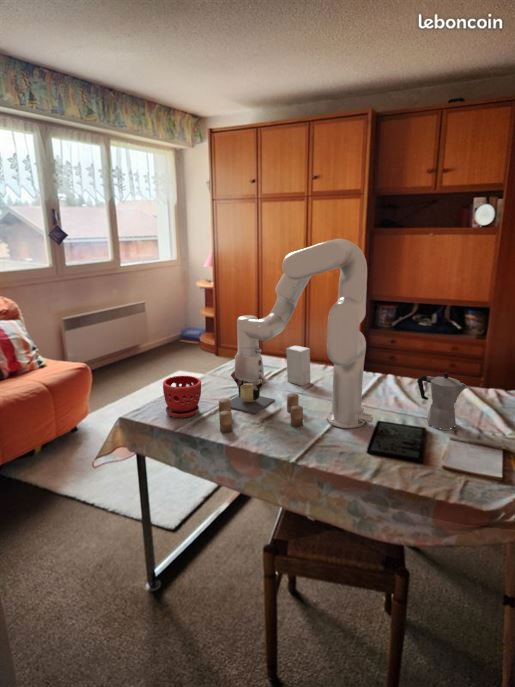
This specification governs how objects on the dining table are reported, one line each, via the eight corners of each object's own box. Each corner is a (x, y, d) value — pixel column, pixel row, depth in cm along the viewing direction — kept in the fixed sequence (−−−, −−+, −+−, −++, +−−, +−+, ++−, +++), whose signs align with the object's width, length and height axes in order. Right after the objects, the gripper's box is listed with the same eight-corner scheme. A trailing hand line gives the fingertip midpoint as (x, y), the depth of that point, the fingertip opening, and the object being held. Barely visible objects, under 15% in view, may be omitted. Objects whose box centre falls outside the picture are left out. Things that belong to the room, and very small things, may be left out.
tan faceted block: (247, 394, 172) (247, 382, 171) (259, 397, 169) (259, 384, 168) (238, 400, 167) (237, 387, 165) (250, 403, 164) (250, 390, 163)
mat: (274, 400, 171) (274, 399, 171) (255, 414, 159) (255, 412, 159) (243, 393, 178) (243, 392, 178) (222, 406, 166) (222, 404, 166)
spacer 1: (233, 416, 158) (232, 400, 157) (226, 420, 155) (226, 404, 153) (223, 413, 160) (223, 397, 158) (216, 418, 157) (216, 401, 155)
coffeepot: (465, 423, 151) (472, 372, 146) (458, 434, 143) (465, 381, 138) (418, 412, 159) (422, 363, 154) (409, 422, 152) (414, 371, 147)
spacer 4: (304, 423, 152) (305, 407, 150) (299, 428, 149) (299, 411, 147) (293, 421, 154) (294, 404, 152) (288, 425, 151) (288, 408, 149)
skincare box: (310, 382, 189) (311, 348, 184) (301, 386, 184) (301, 351, 180) (295, 377, 194) (295, 344, 190) (285, 381, 190) (286, 347, 186)
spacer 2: (234, 429, 149) (234, 412, 147) (227, 434, 145) (227, 416, 144) (224, 426, 151) (224, 409, 149) (217, 431, 147) (216, 414, 146)
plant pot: (187, 423, 153) (185, 390, 150) (157, 415, 159) (154, 383, 156) (209, 409, 164) (208, 377, 161) (180, 402, 170) (178, 372, 167)
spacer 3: (300, 410, 162) (300, 394, 161) (295, 414, 159) (295, 398, 157) (290, 408, 164) (290, 392, 163) (285, 412, 161) (285, 396, 159)
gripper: (274, 350, 162) (274, 398, 167) (234, 344, 170) (235, 389, 175) (263, 356, 156) (264, 405, 160) (222, 349, 164) (224, 396, 169)
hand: (249, 396), depth 168 cm, fingers closed on tan faceted block, 5 cm apart
